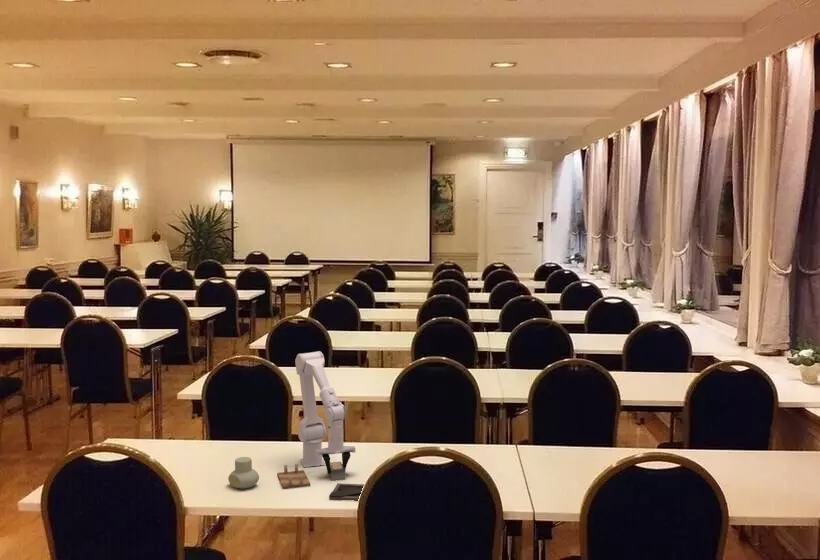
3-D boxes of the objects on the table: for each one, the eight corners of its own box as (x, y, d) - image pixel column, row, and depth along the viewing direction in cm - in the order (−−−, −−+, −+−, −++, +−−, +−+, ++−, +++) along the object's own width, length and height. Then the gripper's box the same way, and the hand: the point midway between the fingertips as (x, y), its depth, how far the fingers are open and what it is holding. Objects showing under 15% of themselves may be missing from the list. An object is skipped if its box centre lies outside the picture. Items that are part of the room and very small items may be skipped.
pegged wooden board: (277, 475, 299) (277, 465, 299) (303, 472, 302) (303, 462, 302) (282, 489, 285) (282, 478, 284) (310, 486, 288) (310, 475, 287)
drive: (327, 473, 302) (327, 462, 301) (340, 471, 303) (340, 460, 303) (332, 480, 293) (331, 469, 293) (345, 479, 294) (345, 468, 294)
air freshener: (225, 485, 289) (224, 458, 288) (243, 479, 295) (243, 453, 294) (243, 492, 282) (243, 465, 281) (262, 486, 288) (261, 459, 287)
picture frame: (329, 501, 274) (380, 503, 272) (329, 495, 274) (380, 497, 272) (337, 487, 288) (386, 489, 285) (337, 482, 287) (386, 484, 285)
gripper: (318, 441, 291) (318, 478, 292) (357, 438, 295) (357, 473, 296) (314, 436, 297) (315, 471, 299) (352, 433, 301) (353, 467, 303)
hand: (336, 472), depth 298 cm, fingers closed on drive, 5 cm apart
